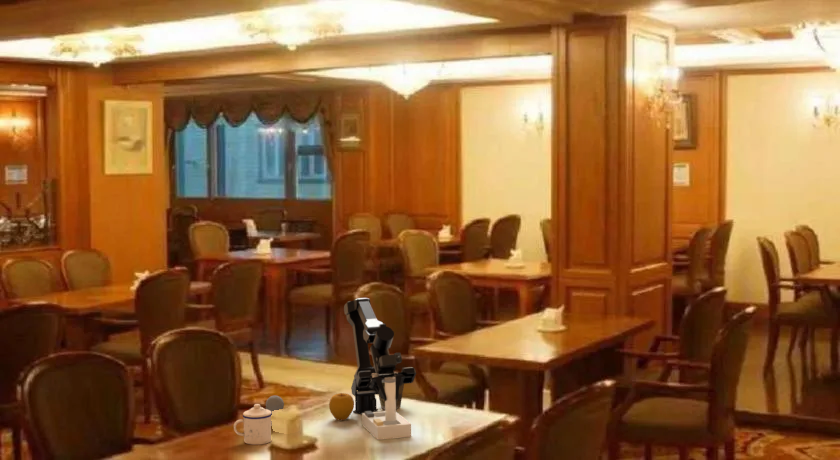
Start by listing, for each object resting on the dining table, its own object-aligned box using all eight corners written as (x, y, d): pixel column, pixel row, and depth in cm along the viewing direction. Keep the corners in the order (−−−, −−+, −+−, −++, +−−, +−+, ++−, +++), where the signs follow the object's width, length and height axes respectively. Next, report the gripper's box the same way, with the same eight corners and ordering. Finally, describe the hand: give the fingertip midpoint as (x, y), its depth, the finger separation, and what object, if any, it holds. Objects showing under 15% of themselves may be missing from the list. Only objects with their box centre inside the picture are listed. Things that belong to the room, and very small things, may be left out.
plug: (382, 419, 351) (382, 377, 349) (391, 417, 353) (390, 376, 352) (390, 421, 348) (389, 379, 347) (398, 419, 350) (397, 377, 349)
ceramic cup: (373, 405, 390) (372, 377, 389) (400, 403, 393) (399, 375, 392) (382, 414, 378) (382, 385, 377) (410, 411, 381) (410, 382, 380)
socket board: (362, 425, 364) (362, 410, 363) (394, 422, 367) (394, 407, 366) (377, 439, 345) (377, 424, 345) (411, 436, 349) (411, 420, 348)
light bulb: (281, 428, 361) (280, 398, 360) (263, 427, 363) (262, 397, 362) (286, 423, 367) (286, 393, 366) (269, 422, 368) (268, 393, 368)
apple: (358, 420, 369) (357, 394, 368) (333, 423, 366) (333, 397, 365) (350, 415, 377) (349, 389, 376) (326, 417, 374) (325, 392, 373)
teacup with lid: (269, 436, 352) (268, 400, 351) (275, 443, 343) (274, 406, 342) (232, 439, 348) (230, 403, 347) (236, 447, 340) (235, 410, 339)
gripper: (357, 346, 349) (367, 388, 340) (413, 342, 355) (425, 383, 346) (352, 366, 358) (361, 407, 348) (407, 361, 363) (417, 402, 354)
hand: (391, 399), depth 349 cm, fingers closed on plug, 3 cm apart
